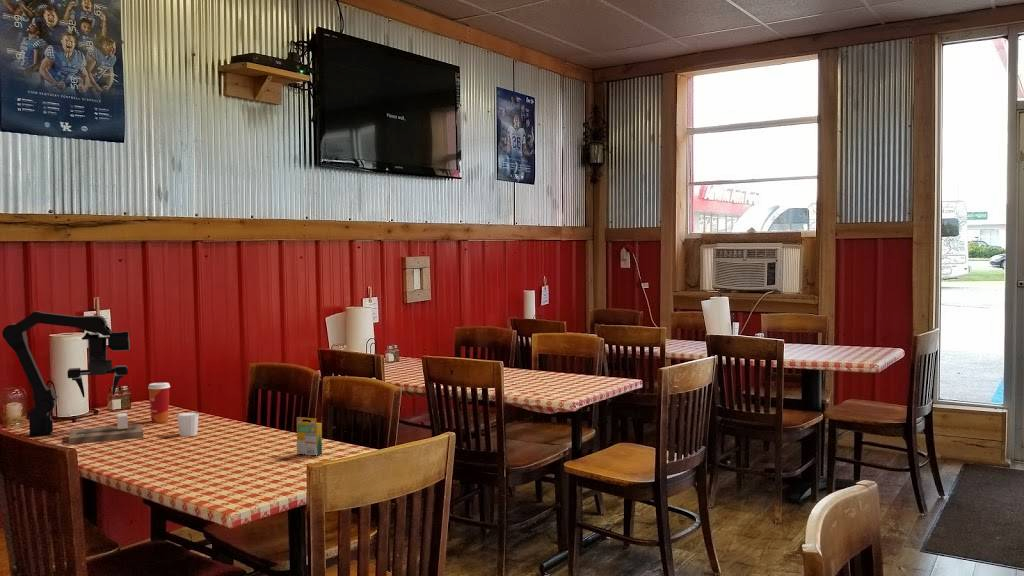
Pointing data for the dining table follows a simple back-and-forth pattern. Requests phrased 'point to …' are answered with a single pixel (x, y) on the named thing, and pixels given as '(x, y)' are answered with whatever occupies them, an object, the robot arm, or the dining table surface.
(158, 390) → the paper cup
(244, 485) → the dining table surface
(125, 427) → the fader tab
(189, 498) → the dining table surface
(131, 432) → the fader console
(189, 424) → the white tapered cup
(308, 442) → the crayon box
